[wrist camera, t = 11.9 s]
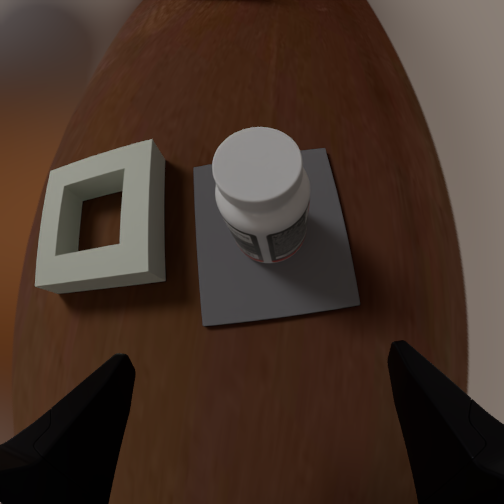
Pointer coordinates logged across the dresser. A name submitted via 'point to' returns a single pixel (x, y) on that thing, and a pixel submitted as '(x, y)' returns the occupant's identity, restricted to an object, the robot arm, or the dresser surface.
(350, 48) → the dresser surface
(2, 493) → the robot arm
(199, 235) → the charcoal mat
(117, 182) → the socket block
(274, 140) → the pill bottle
